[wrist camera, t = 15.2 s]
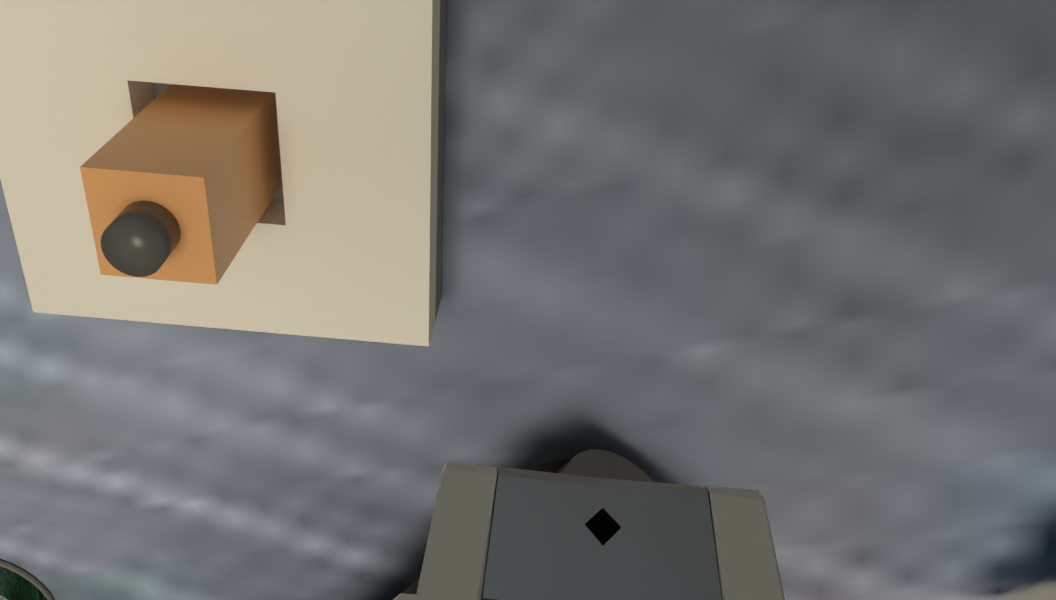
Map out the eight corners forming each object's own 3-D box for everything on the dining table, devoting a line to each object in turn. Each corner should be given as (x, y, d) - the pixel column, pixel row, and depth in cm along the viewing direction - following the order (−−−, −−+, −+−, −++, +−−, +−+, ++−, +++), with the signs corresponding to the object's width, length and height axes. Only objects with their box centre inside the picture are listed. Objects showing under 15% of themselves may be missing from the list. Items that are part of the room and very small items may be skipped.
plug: (274, 90, 38) (187, 198, 30) (281, 184, 40) (201, 308, 32) (172, 82, 38) (57, 187, 30) (185, 176, 40) (81, 297, 32)
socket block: (448, -68, 36) (432, -43, 33) (441, 296, 45) (428, 346, 41) (-3, -103, 36) (-64, -83, 33) (75, 265, 45) (33, 312, 42)
